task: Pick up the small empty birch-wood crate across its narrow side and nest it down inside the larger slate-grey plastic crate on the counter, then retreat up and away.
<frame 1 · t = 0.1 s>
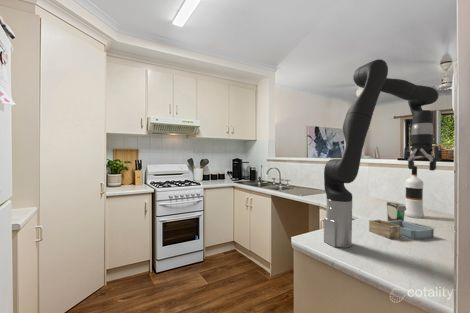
hand: (421, 169, 101), 29 cm above the table, fingers open, 8 cm apart
crate: (406, 233, 102), on the table
small crate: (384, 234, 100), on the table
vodka: (413, 216, 133), on the table
food container: (398, 223, 118), on the table
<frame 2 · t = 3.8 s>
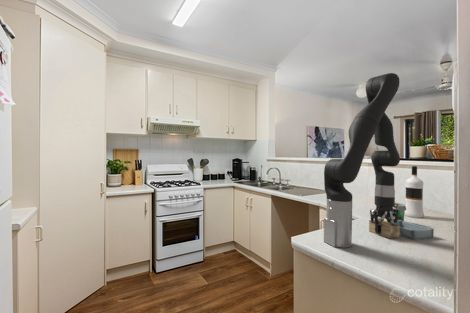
hand: (384, 232, 100), 1 cm above the table, fingers closed on small crate, 6 cm apart
small crate: (383, 234, 100), on the table, touching gripper
everything else where it was.
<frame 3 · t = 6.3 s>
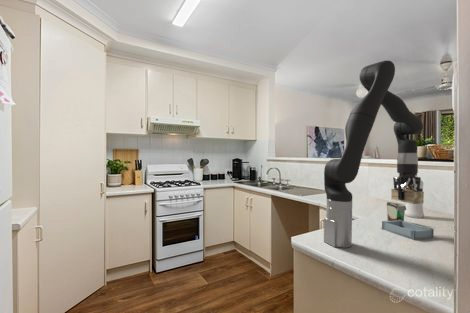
hand: (406, 199, 102), 15 cm above the table, fingers closed on small crate, 6 cm apart
small crate: (406, 201, 102), point 15 cm above the table, touching gripper
everything else where it was.
when the fingers open (4 cm above the table, at t = 9.3 s): small crate drops 2 cm, resting on crate.
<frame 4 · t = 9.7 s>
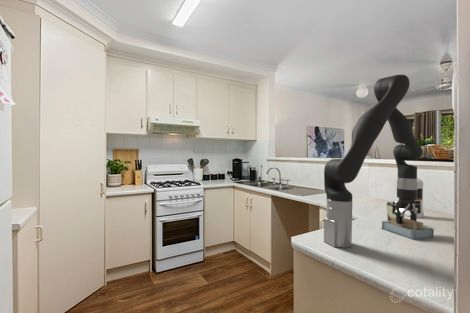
hand: (406, 223, 102), 4 cm above the table, fingers open, 8 cm apart
small crate: (406, 231, 102), point 1 cm above the table, touching crate
everything else where it was.
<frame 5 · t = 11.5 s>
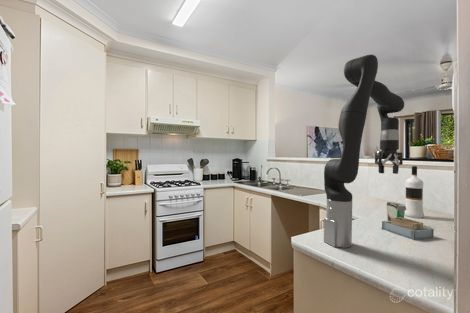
hand: (388, 173, 107), 27 cm above the table, fingers open, 8 cm apart
nothing on the table moved.
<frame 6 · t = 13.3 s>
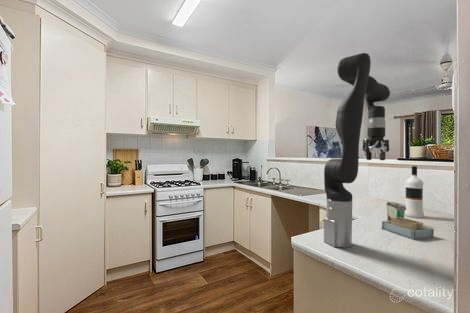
hand: (375, 160, 111), 33 cm above the table, fingers open, 8 cm apart
nothing on the table moved.
at the end: small crate 0.1 cm off-centre on the crate, point 0.8 cm above the crate's base; small crate tilted 0°; the gripper is holding nothing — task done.
